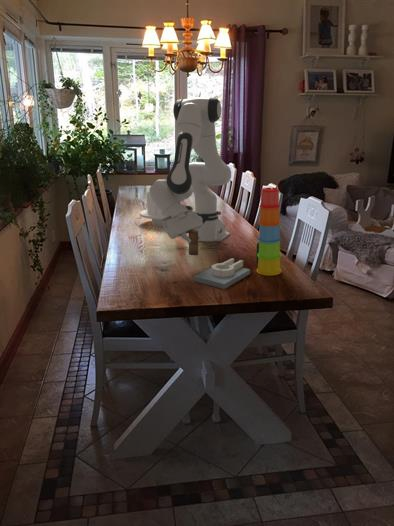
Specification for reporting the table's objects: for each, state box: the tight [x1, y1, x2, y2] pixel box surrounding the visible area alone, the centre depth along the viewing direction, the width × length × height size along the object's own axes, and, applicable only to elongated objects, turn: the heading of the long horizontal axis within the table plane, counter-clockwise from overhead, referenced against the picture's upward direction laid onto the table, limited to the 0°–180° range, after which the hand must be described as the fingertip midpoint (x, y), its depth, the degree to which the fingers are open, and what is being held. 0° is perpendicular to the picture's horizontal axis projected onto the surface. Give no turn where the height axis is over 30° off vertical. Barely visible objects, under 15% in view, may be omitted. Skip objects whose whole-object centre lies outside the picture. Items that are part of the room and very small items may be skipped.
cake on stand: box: [139, 191, 165, 227], centre depth 256 cm, size 25×25×19 cm
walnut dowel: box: [188, 230, 199, 256], centre depth 182 cm, size 4×4×10 cm
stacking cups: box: [256, 187, 282, 277], centre depth 176 cm, size 10×10×35 cm
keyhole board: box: [193, 257, 251, 290], centre depth 175 cm, size 22×14×4 cm, turn 145°
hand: (194, 240), depth 181 cm, fingers closed on walnut dowel, 4 cm apart
